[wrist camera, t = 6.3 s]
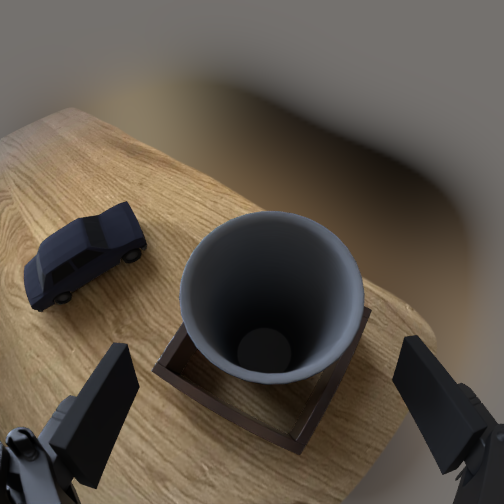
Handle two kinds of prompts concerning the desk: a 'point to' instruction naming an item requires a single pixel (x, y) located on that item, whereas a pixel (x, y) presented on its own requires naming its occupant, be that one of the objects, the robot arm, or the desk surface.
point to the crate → (295, 441)
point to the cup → (271, 297)
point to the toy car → (82, 255)
